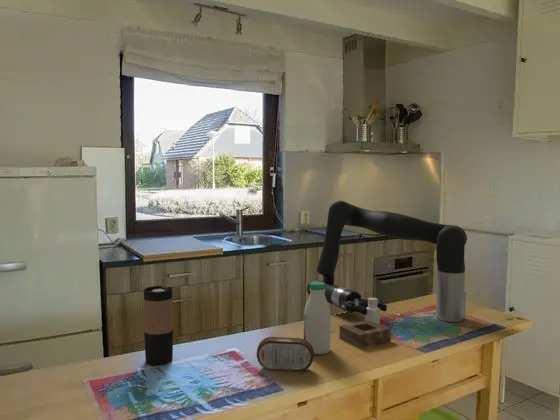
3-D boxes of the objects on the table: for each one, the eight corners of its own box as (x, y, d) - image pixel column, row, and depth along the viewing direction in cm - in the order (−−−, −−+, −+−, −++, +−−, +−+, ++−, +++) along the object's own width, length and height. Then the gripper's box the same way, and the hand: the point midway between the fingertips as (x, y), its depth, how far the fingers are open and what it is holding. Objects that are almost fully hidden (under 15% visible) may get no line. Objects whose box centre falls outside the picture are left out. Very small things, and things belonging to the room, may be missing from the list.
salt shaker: (364, 326, 159) (364, 298, 158) (370, 323, 162) (370, 296, 161) (374, 329, 156) (374, 300, 155) (380, 326, 159) (381, 298, 158)
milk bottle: (335, 350, 137) (336, 282, 135) (319, 357, 131) (319, 287, 130) (314, 343, 142) (315, 278, 140) (298, 350, 136) (298, 282, 135)
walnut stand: (368, 332, 153) (369, 319, 152) (390, 341, 144) (390, 328, 144) (339, 338, 147) (339, 325, 146) (360, 348, 138) (360, 335, 138)
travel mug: (148, 368, 123) (146, 293, 122) (142, 358, 130) (140, 287, 128) (176, 363, 127) (175, 290, 125) (169, 353, 133) (168, 284, 132)
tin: (313, 368, 124) (314, 337, 123) (313, 373, 121) (313, 341, 120) (257, 366, 125) (257, 335, 125) (255, 371, 122) (255, 339, 121)
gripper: (330, 291, 167) (360, 301, 153) (361, 286, 174) (392, 296, 160) (330, 312, 167) (359, 324, 153) (361, 306, 175) (392, 318, 161)
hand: (376, 310), depth 157 cm, fingers open, 8 cm apart
